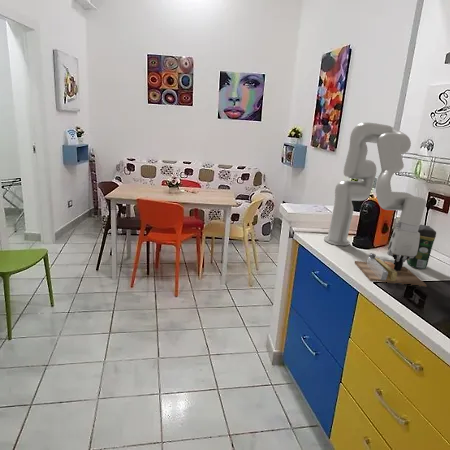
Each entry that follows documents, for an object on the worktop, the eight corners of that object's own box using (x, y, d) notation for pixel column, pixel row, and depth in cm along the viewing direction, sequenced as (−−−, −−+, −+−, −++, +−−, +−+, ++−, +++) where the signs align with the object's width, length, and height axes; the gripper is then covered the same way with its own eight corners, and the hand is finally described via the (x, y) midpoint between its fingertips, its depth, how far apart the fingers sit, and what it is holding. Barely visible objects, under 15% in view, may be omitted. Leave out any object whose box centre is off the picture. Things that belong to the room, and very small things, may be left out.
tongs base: (364, 262, 152) (366, 252, 151) (372, 263, 152) (374, 253, 151) (380, 280, 135) (383, 269, 134) (389, 281, 135) (392, 270, 134)
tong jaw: (372, 265, 149) (374, 257, 148) (376, 265, 149) (378, 258, 148) (390, 280, 135) (392, 272, 134) (395, 281, 135) (397, 273, 134)
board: (354, 262, 153) (355, 258, 152) (404, 268, 153) (405, 264, 153) (369, 280, 136) (370, 275, 135) (426, 287, 136) (427, 282, 135)
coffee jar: (404, 260, 164) (414, 222, 159) (422, 263, 162) (433, 225, 157) (408, 267, 155) (419, 227, 150) (427, 271, 153) (439, 230, 148)
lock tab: (382, 269, 146) (384, 261, 146) (389, 269, 147) (391, 262, 146) (385, 271, 144) (387, 264, 143) (392, 272, 144) (394, 264, 143)
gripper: (393, 227, 136) (382, 271, 141) (431, 232, 136) (419, 275, 141) (385, 222, 143) (375, 264, 148) (421, 226, 143) (410, 268, 149)
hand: (396, 269), depth 145 cm, fingers closed
